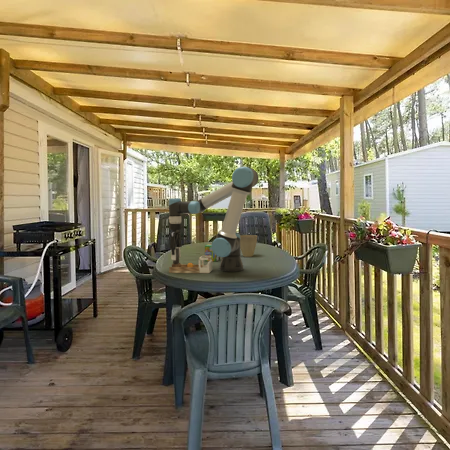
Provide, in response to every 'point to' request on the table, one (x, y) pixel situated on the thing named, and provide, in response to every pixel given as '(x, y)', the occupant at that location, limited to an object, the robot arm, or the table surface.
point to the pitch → (185, 269)
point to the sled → (176, 262)
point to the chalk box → (210, 253)
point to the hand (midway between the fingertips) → (176, 258)
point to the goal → (205, 267)
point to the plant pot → (248, 244)
